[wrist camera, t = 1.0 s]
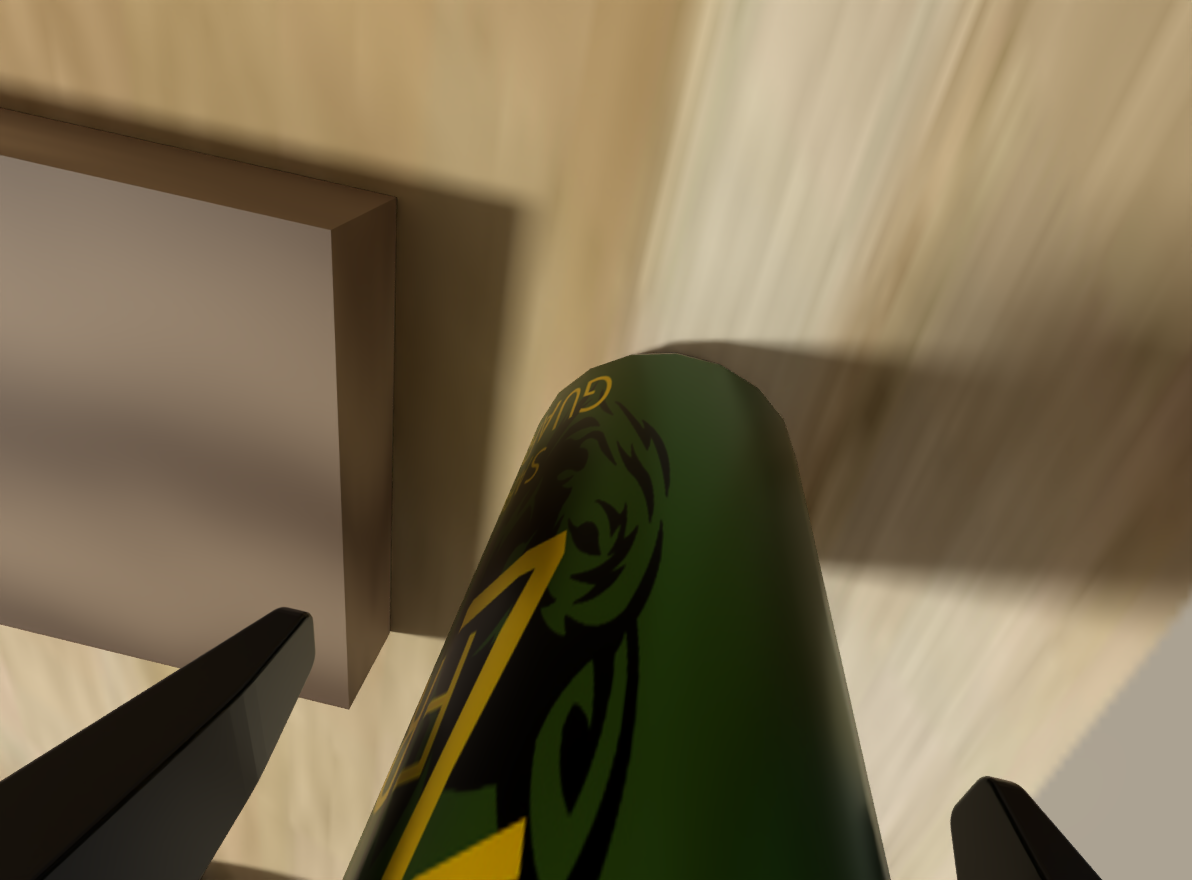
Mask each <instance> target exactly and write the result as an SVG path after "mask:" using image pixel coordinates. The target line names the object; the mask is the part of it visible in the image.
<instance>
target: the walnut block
mask: <svg viewBox="0 0 1192 880" xmlns="http://www.w3.org/2000/svg"><path fill="white" fill-rule="evenodd" d="M396 203H397V197H393V196H389V195H384V194H380V193H376V192H371V191H367V190H362V189H358V188H353V187H349V186H345V185H340V184H336V183H331V182H327V181H322V180H318V179H313V178H309V177H305V176H300V175H296V174H291V173H287V172H282V171H278V170H274V169H269V168H265V167H260V166H256V165H251V164H247V163H243V162H238V161H234V160H229V159H225V158H220V157H216V156H212V155H207V154H203V153H198V152H194V151H189V150H185V149H180V148H176V147H172V146H167V145H163V144H158V143H154V142H149V141H145V140H141V139H136V138H132V137H127V136H123V135H118V134H114V133H110V132H105V131H101V130H96V129H92V128H87V127H83V126H79V125H74V124H70V123H65V122H61V121H56V120H52V119H47V118H43V117H39V116H34V115H30V114H25V113H21V112H16V111H12V110H8V109H3V108H0V624H1V625H5V626H9V627H13V628H17V629H21V630H25V631H29V632H34V633H38V634H42V635H46V636H50V637H54V638H58V639H62V640H66V641H70V642H74V643H79V644H83V645H87V646H91V647H95V648H99V649H103V650H107V651H111V652H115V653H120V654H124V655H128V656H132V657H136V658H140V659H144V660H148V661H152V662H156V663H161V664H165V665H169V666H173V667H177V668H182V667H184V666H185V665H187V664H188V663H190V662H192V661H193V660H195V659H196V658H198V657H200V656H201V655H203V654H204V653H206V652H208V651H209V650H211V649H212V648H214V647H216V646H217V645H219V644H220V643H222V642H224V641H225V640H227V639H228V638H230V637H232V636H233V635H235V634H236V633H238V632H240V631H241V630H243V629H244V628H246V627H247V626H249V625H251V624H252V623H254V622H255V621H257V620H259V619H260V618H262V617H263V616H265V615H267V614H268V613H270V612H271V611H273V610H275V609H277V608H280V607H289V608H293V609H297V610H301V611H305V612H308V613H310V614H311V616H312V617H313V624H314V638H315V660H314V664H313V667H312V669H311V672H310V674H309V676H308V678H307V680H306V682H305V684H304V687H303V689H302V691H301V693H300V695H299V697H300V698H304V699H308V700H312V701H316V702H320V703H324V704H329V705H333V706H337V707H341V708H345V709H350V707H351V705H352V703H353V701H354V699H355V697H356V695H357V694H358V692H359V690H360V688H361V686H362V684H363V682H364V680H365V678H366V677H367V675H368V673H369V671H370V669H371V667H372V665H373V663H374V662H375V660H376V658H377V656H378V654H379V652H380V650H381V648H382V646H383V645H384V643H385V641H386V639H387V637H388V635H389V633H390V586H391V522H392V458H393V394H394V330H395V267H396Z"/></svg>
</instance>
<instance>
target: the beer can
mask: <svg viewBox="0 0 1192 880" xmlns="http://www.w3.org/2000/svg"><path fill="white" fill-rule="evenodd" d="M343 880H891V879H890V874H889V870H888V865H887V861H886V857H885V852H884V848H883V843H882V839H881V834H880V830H879V825H878V821H877V817H876V812H875V808H874V803H873V799H872V794H871V790H870V785H869V781H868V777H867V772H866V768H865V763H864V759H863V754H862V750H861V745H860V741H859V737H858V732H857V728H856V723H855V719H854V714H853V710H852V705H851V701H850V697H849V692H848V688H847V683H846V679H845V674H844V670H843V665H842V661H841V657H840V652H839V648H838V643H837V639H836V634H835V630H834V625H833V621H832V617H831V612H830V608H829V603H828V599H827V594H826V590H825V586H824V581H823V577H822V572H821V568H820V563H819V559H818V554H817V550H816V546H815V541H814V537H813V532H812V528H811V523H810V519H809V514H808V510H807V506H806V501H805V497H804V492H803V488H802V483H801V479H800V474H799V470H798V466H797V461H796V457H795V453H794V450H793V447H792V444H791V441H790V438H789V435H788V432H787V429H786V426H785V423H784V420H783V418H782V417H781V416H780V415H779V413H778V412H777V411H776V410H775V409H774V407H773V406H772V405H771V404H770V402H769V401H768V400H767V399H766V397H765V396H764V395H763V394H762V393H761V391H760V390H759V389H758V388H757V387H755V386H754V385H752V384H750V383H749V382H747V381H746V380H744V379H742V378H741V377H739V376H738V375H736V374H734V373H733V372H731V371H730V370H728V369H726V368H725V367H723V366H722V365H719V364H716V363H713V362H709V361H705V360H702V359H698V358H694V357H690V356H686V355H683V354H679V353H653V354H634V355H629V356H627V357H624V358H621V359H618V360H615V361H612V362H609V363H606V364H603V365H600V366H597V367H594V368H591V369H590V370H588V371H587V372H586V373H584V374H583V375H582V376H580V377H579V378H578V379H576V380H575V381H574V382H572V383H571V384H570V385H569V386H567V387H566V388H565V389H563V390H562V391H561V392H559V393H558V395H557V397H556V398H555V400H554V401H553V403H552V404H551V406H550V407H549V409H548V411H547V412H546V414H545V415H544V417H543V418H542V420H541V421H540V423H539V425H538V428H537V430H536V432H535V435H534V437H533V439H532V441H531V444H530V446H529V448H528V451H527V453H526V455H525V458H524V460H523V462H522V465H521V467H520V469H519V472H518V474H517V476H516V479H515V481H514V483H513V486H512V488H511V490H510V493H509V495H508V497H507V499H506V502H505V504H504V506H503V509H502V511H501V513H500V516H499V518H498V520H497V523H496V525H495V527H494V530H493V532H492V534H491V537H490V539H489V541H488V544H487V546H486V548H485V550H484V553H483V555H482V557H481V560H480V562H479V564H478V567H477V569H476V571H475V574H474V576H473V578H472V581H471V583H470V585H469V588H468V590H467V592H466V595H465V597H464V599H463V602H462V604H461V606H460V608H459V611H458V613H457V615H456V618H455V620H454V622H453V625H452V627H451V629H450V632H449V634H448V636H447V639H446V641H445V643H444V646H443V648H442V650H441V653H440V655H439V657H438V659H437V662H436V664H435V666H434V669H433V671H432V673H431V676H430V678H429V680H428V683H427V685H426V687H425V690H424V692H423V694H422V697H421V699H420V701H419V704H418V706H417V708H416V710H415V713H414V715H413V717H412V720H411V722H410V724H409V727H408V729H407V731H406V734H405V736H404V738H403V741H402V743H401V745H400V748H399V750H398V752H397V755H396V757H395V759H394V762H393V764H392V766H391V768H390V771H389V773H388V775H387V778H386V780H385V782H384V785H383V787H382V789H381V792H380V794H379V796H378V799H377V801H376V803H375V806H374V808H373V810H372V813H371V815H370V817H369V819H368V822H367V824H366V826H365V829H364V831H363V833H362V836H361V838H360V840H359V843H358V845H357V847H356V850H355V852H354V854H353V857H352V859H351V861H350V864H349V866H348V868H347V871H346V873H345V875H344V877H343Z"/></svg>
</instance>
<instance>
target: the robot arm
mask: <svg viewBox="0 0 1192 880" xmlns="http://www.w3.org/2000/svg"><path fill="white" fill-rule="evenodd" d="M314 660H315V638H314V624H313V617H312V616H311V614H310V613H308V612H305V611H301V610H297V609H293V608H289V607H280V608H277V609H275V610H273V611H271V612H270V613H268V614H267V615H265V616H263V617H262V618H260V619H259V620H257V621H255V622H254V623H252V624H251V625H249V626H247V627H246V628H244V629H243V630H241V631H240V632H238V633H236V634H235V635H233V636H232V637H230V638H228V639H227V640H225V641H224V642H222V643H220V644H219V645H217V646H216V647H214V648H212V649H211V650H209V651H208V652H206V653H204V654H203V655H201V656H200V657H198V658H196V659H195V660H193V661H192V662H190V663H188V664H187V665H185V666H184V667H182V668H180V669H179V670H177V671H176V672H174V673H173V674H171V675H169V676H168V677H166V678H165V679H163V680H161V681H160V682H158V683H157V684H155V685H153V686H152V687H150V688H149V689H147V690H145V691H144V692H142V693H141V694H139V695H137V696H136V697H134V698H133V699H131V700H129V701H128V702H126V703H125V704H123V705H121V706H120V707H118V708H117V709H115V710H113V711H112V712H110V713H109V714H107V715H106V716H104V717H102V718H101V719H99V720H98V721H96V722H94V723H93V724H91V725H90V726H88V727H86V728H85V729H83V730H82V731H80V732H78V733H77V734H75V735H74V736H72V737H70V738H69V739H67V740H66V741H64V742H62V743H61V744H59V745H58V746H56V747H54V748H53V749H51V750H50V751H48V752H46V753H45V754H43V755H42V756H40V757H38V758H37V759H35V760H34V761H32V762H31V763H29V764H27V765H26V766H24V767H23V768H21V769H19V770H18V771H16V772H15V773H13V774H11V775H10V776H8V777H7V778H5V779H3V780H2V781H0V880H200V879H201V877H202V875H203V874H204V872H205V870H206V869H207V867H208V865H209V864H210V862H211V860H212V859H213V857H214V855H215V854H216V852H217V850H218V849H219V847H220V845H221V844H222V842H223V840H224V839H225V837H226V835H227V834H228V832H229V830H230V829H231V827H232V825H233V824H234V822H235V820H236V819H237V817H238V815H239V814H240V812H241V810H242V809H243V807H244V805H245V804H246V802H247V800H248V799H249V797H250V795H251V793H252V792H253V790H254V788H255V786H256V785H257V783H258V781H259V779H260V777H261V775H262V773H263V771H264V769H265V767H266V765H267V763H268V761H269V759H270V757H271V754H272V752H273V750H274V748H275V746H276V744H277V742H278V740H279V737H280V735H281V733H282V731H283V729H284V727H285V725H286V723H287V720H288V718H289V716H290V714H291V712H292V710H293V708H294V706H295V704H296V701H297V699H298V697H299V695H300V693H301V691H302V689H303V687H304V684H305V682H306V680H307V678H308V676H309V674H310V672H311V669H312V667H313V664H314ZM950 824H951V834H952V842H953V850H954V858H955V866H956V874H957V880H1102V879H1101V878H1100V877H1099V876H1098V875H1097V873H1096V872H1095V871H1094V870H1093V869H1092V868H1091V866H1090V865H1089V864H1088V863H1087V862H1086V861H1085V859H1084V858H1083V857H1082V856H1081V855H1080V854H1079V852H1078V851H1077V850H1076V849H1075V848H1074V847H1073V846H1072V844H1071V843H1070V842H1069V841H1068V840H1067V839H1066V837H1065V836H1064V835H1063V834H1062V833H1061V832H1060V831H1059V829H1058V828H1057V827H1056V826H1055V825H1054V823H1053V822H1052V821H1051V820H1050V819H1049V818H1048V817H1047V815H1046V814H1045V813H1044V812H1043V811H1042V810H1041V808H1040V807H1039V806H1038V805H1037V804H1036V803H1035V801H1034V800H1033V799H1032V798H1031V797H1030V796H1029V794H1028V793H1027V792H1026V791H1025V790H1024V789H1023V788H1022V787H1020V786H1019V785H1018V784H1016V783H1013V782H1011V781H1007V780H1003V779H999V778H994V777H990V776H985V777H981V778H980V779H979V780H977V781H976V783H975V784H974V785H973V786H972V787H971V788H970V789H969V790H968V792H967V793H966V794H965V795H964V796H963V797H962V798H961V799H960V800H959V802H958V803H957V804H956V805H955V806H954V808H953V811H952V814H951V823H950Z"/></svg>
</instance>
